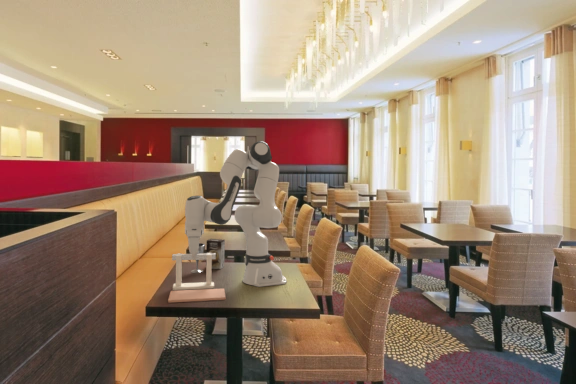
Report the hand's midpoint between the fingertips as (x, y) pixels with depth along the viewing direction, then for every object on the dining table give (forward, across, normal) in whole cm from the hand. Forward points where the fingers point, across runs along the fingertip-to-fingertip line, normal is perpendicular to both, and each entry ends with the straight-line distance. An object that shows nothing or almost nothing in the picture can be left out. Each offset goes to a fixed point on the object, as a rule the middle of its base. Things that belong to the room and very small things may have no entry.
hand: (194, 258), depth 174 cm
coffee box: (+14, -34, +11) cm, 38 cm away
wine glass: (+14, -27, +1) cm, 30 cm away
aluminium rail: (0, 0, 0) cm, 0 cm away
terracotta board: (+14, +13, +2) cm, 19 cm away
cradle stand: (+14, 0, 0) cm, 14 cm away
